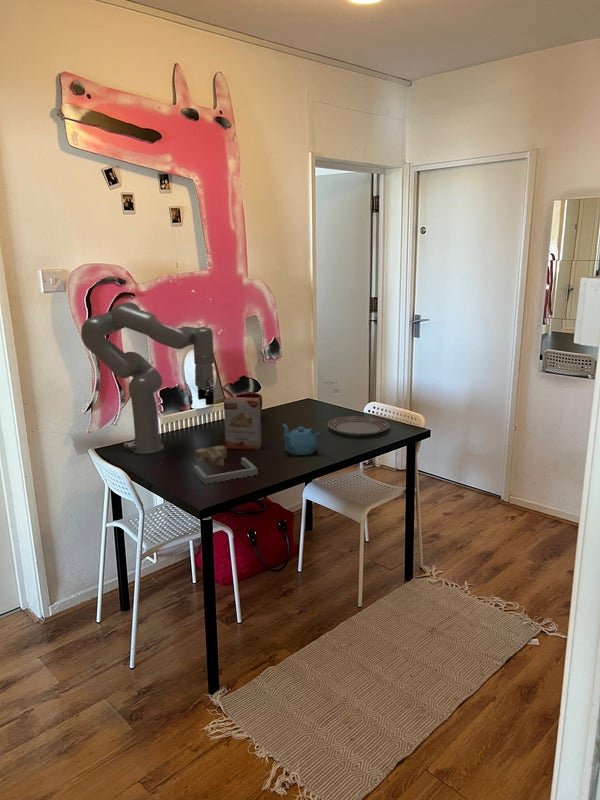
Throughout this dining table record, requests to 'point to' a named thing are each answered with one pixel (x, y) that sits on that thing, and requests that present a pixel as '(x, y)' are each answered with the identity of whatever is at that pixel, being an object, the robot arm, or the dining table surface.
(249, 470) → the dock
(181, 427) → the dining table surface
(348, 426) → the dinner plate
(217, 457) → the t block
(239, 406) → the cracker box
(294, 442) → the teapot
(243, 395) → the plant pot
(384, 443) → the dining table surface
